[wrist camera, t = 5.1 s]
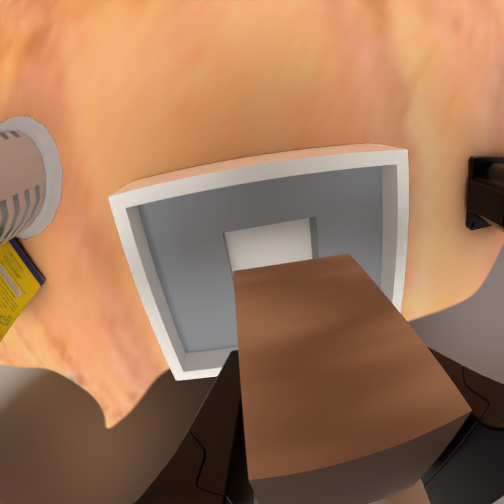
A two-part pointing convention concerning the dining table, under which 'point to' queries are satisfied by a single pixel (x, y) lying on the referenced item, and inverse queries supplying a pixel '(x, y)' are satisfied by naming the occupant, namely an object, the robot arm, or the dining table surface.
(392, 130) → the dining table surface
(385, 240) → the tray
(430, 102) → the dining table surface
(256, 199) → the socket plate
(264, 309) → the peg
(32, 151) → the french press
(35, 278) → the supplement box
